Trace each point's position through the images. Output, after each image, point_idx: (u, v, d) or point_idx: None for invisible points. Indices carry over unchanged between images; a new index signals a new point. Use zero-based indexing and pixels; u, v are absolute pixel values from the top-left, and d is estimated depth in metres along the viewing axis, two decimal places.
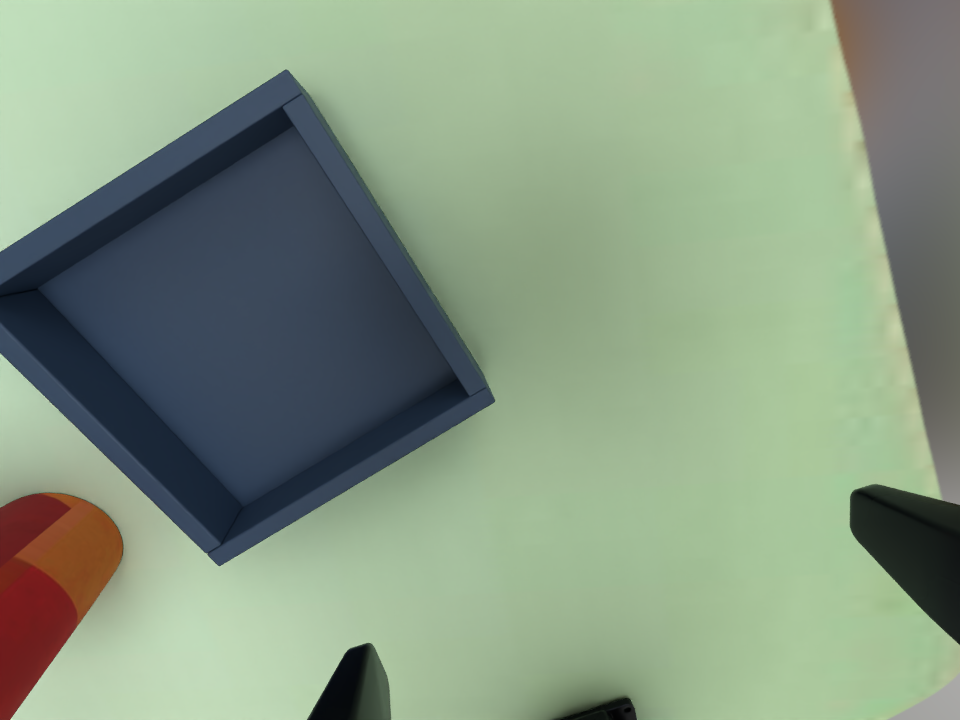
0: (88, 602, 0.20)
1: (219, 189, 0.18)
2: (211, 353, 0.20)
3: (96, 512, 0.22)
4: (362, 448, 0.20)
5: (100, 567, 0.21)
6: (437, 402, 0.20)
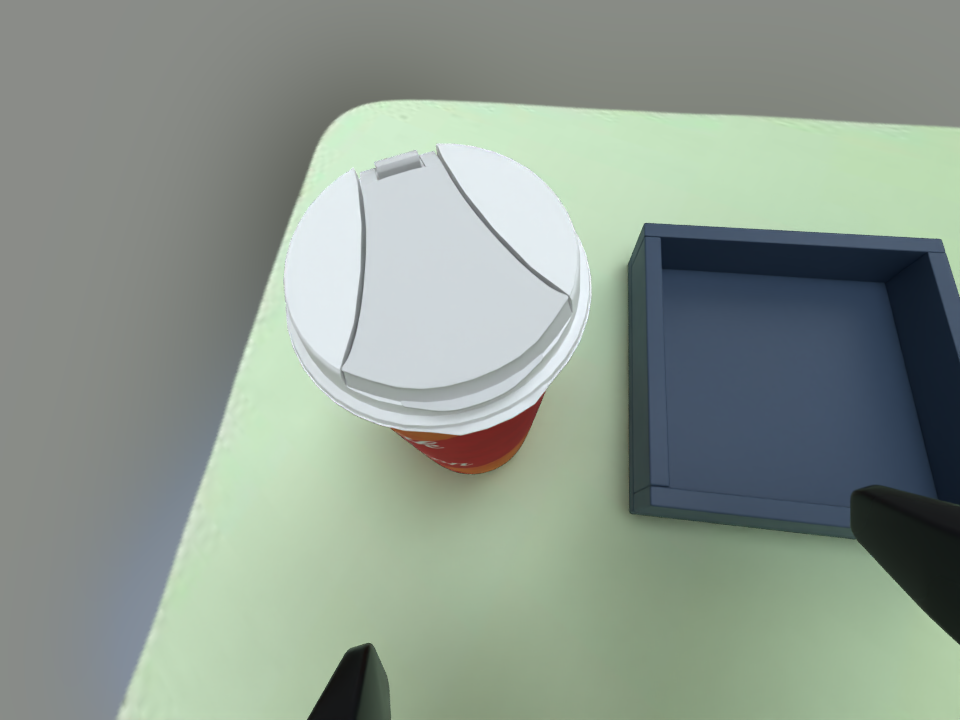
0: (507, 455, 0.20)
1: (803, 285, 0.24)
2: (723, 365, 0.23)
3: None
4: None
5: (521, 444, 0.21)
6: None
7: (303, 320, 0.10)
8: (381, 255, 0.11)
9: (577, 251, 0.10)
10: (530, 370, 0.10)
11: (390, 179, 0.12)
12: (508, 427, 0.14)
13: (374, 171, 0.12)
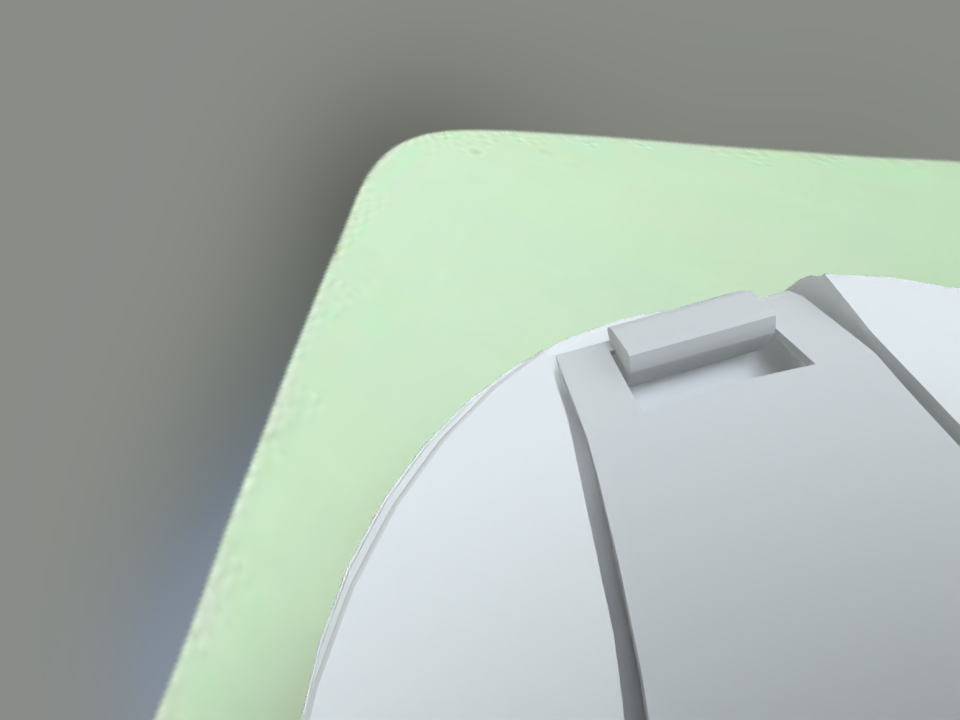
0: None
1: None
2: None
3: None
4: None
5: None
6: None
7: None
8: None
9: None
10: None
11: (693, 413, 0.03)
12: None
13: (610, 361, 0.04)
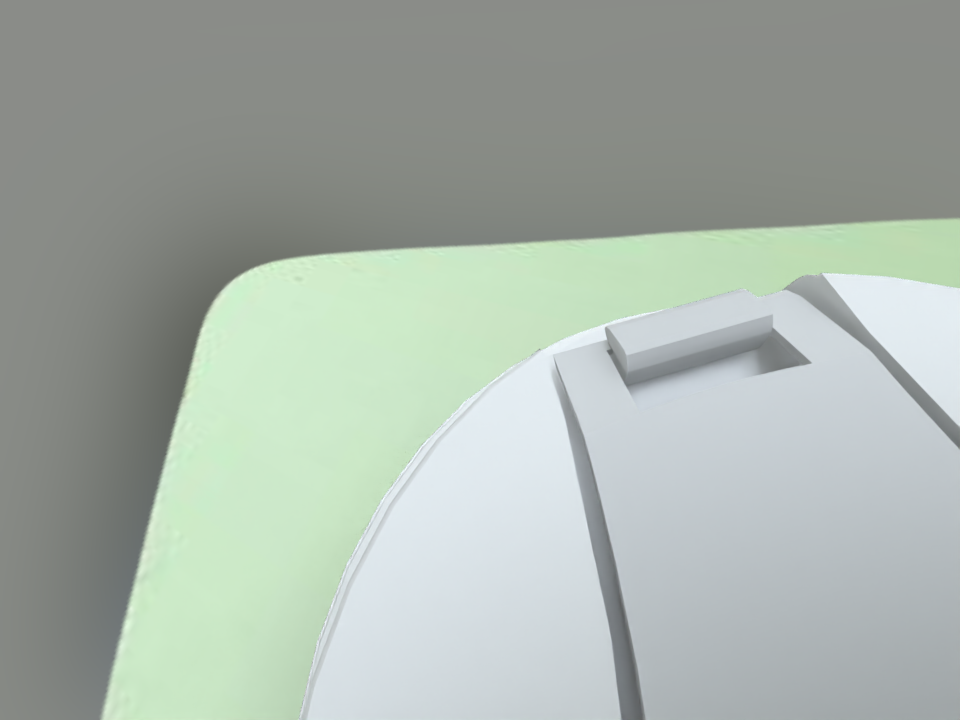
0: None
1: None
2: None
3: None
4: None
5: None
6: None
7: None
8: None
9: None
10: None
11: (690, 412, 0.03)
12: None
13: (608, 360, 0.04)
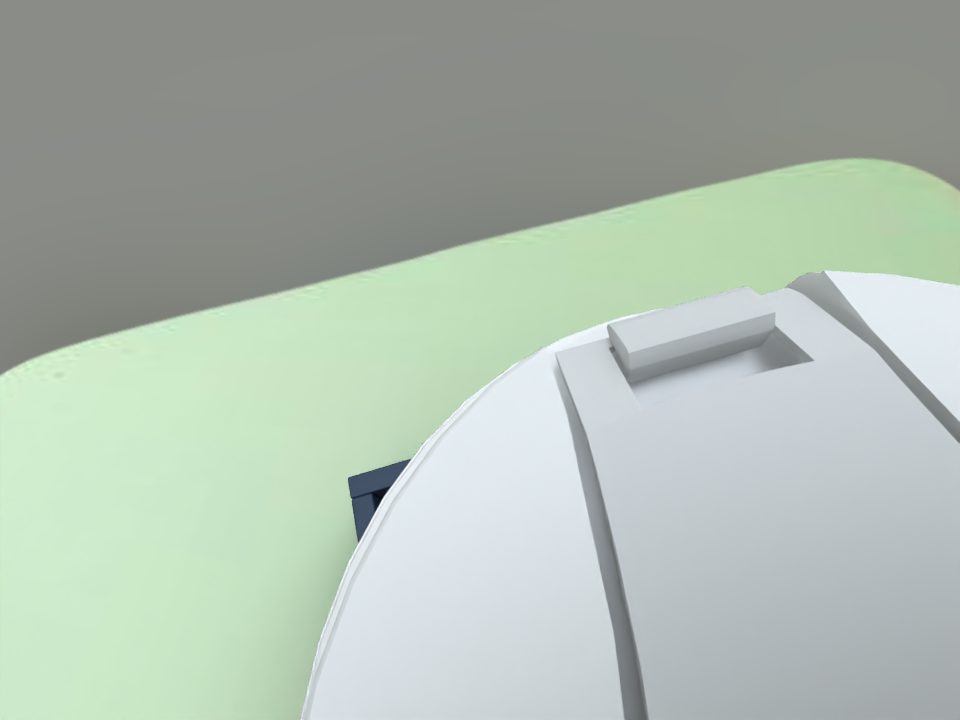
0: None
1: None
2: None
3: None
4: None
5: None
6: None
7: None
8: None
9: None
10: None
11: (693, 409, 0.03)
12: None
13: (610, 358, 0.04)
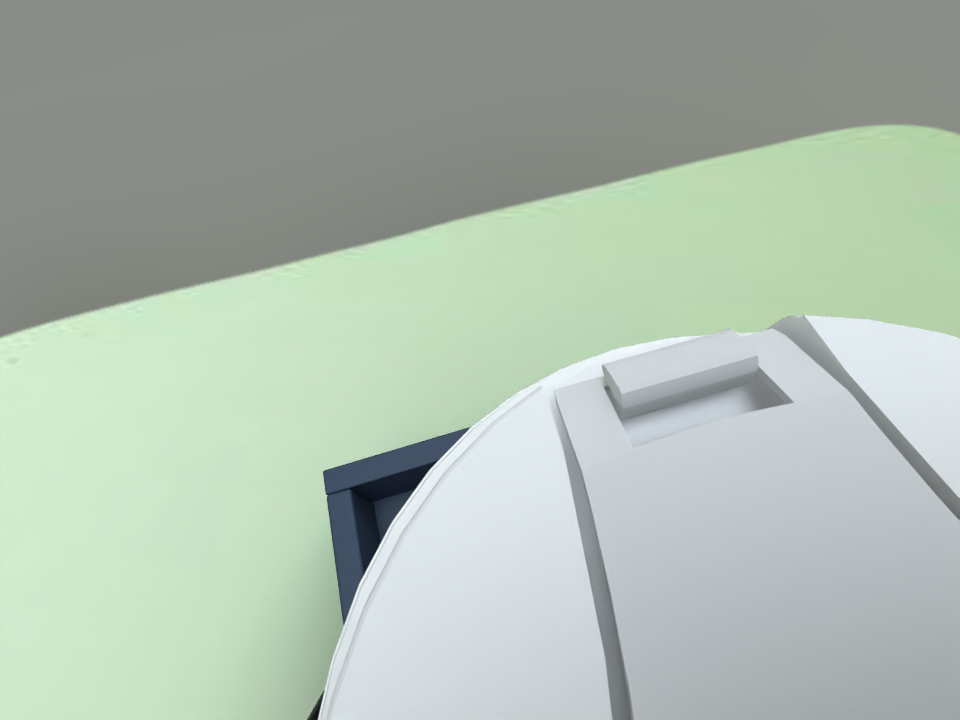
0: None
1: None
2: None
3: None
4: None
5: None
6: None
7: None
8: None
9: None
10: None
11: (680, 448, 0.03)
12: None
13: (604, 397, 0.04)
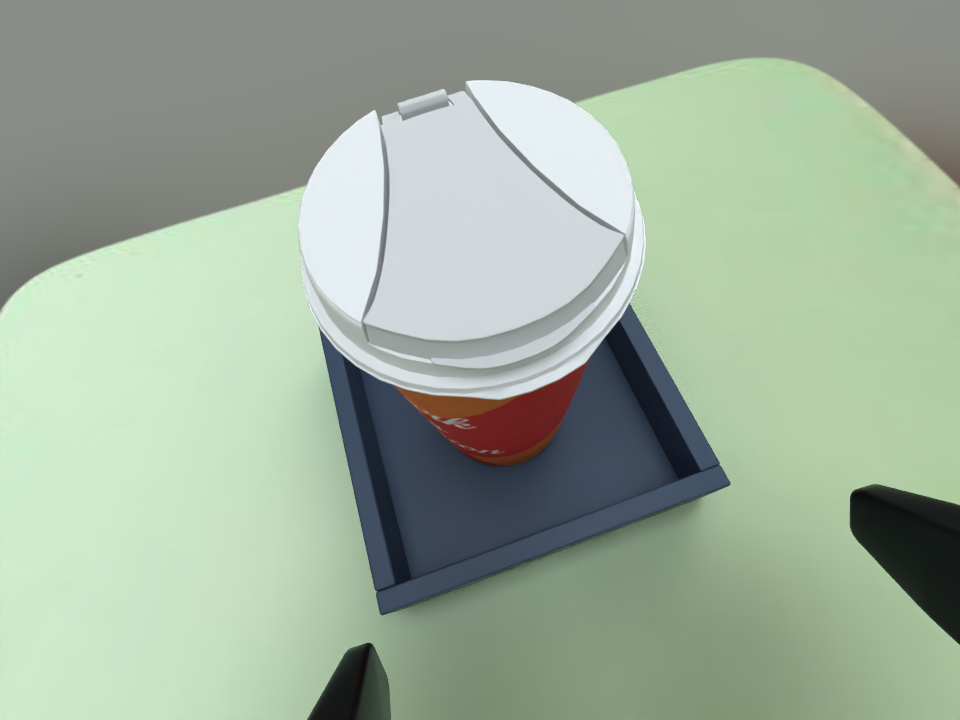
0: (541, 443, 0.18)
1: None
2: None
3: None
4: None
5: (555, 433, 0.19)
6: None
7: (319, 270, 0.09)
8: (406, 198, 0.09)
9: (631, 186, 0.09)
10: (580, 321, 0.08)
11: (415, 119, 0.10)
12: (547, 403, 0.12)
13: (397, 114, 0.11)
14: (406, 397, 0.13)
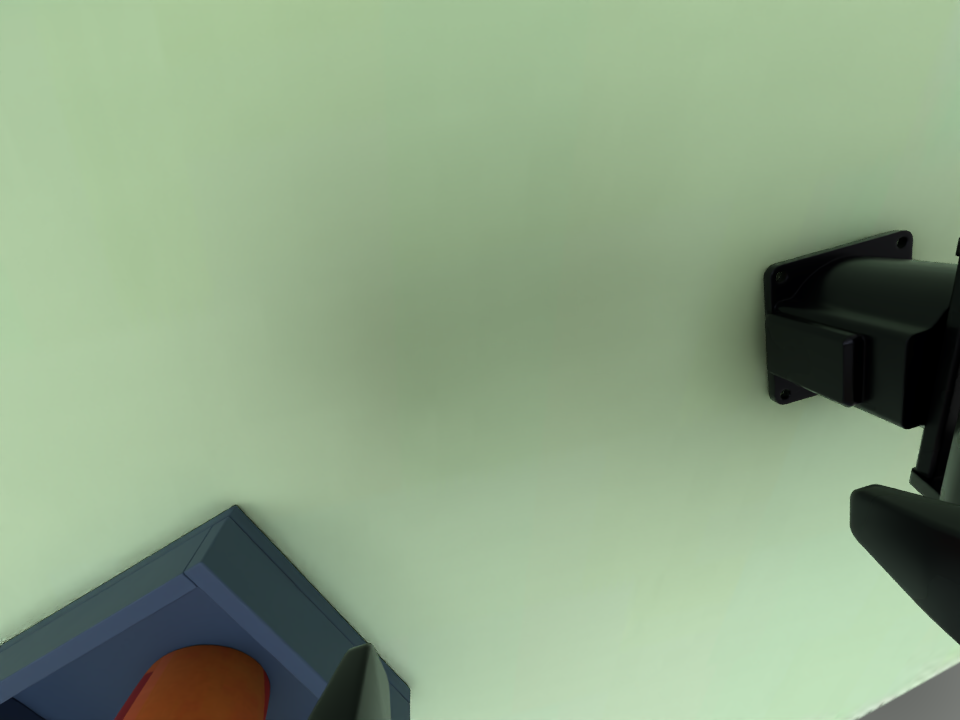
0: (223, 716, 0.18)
1: None
2: None
3: (178, 654, 0.20)
4: None
5: (209, 685, 0.19)
6: None
7: None
8: None
9: None
10: None
11: None
12: None
13: None
14: None
